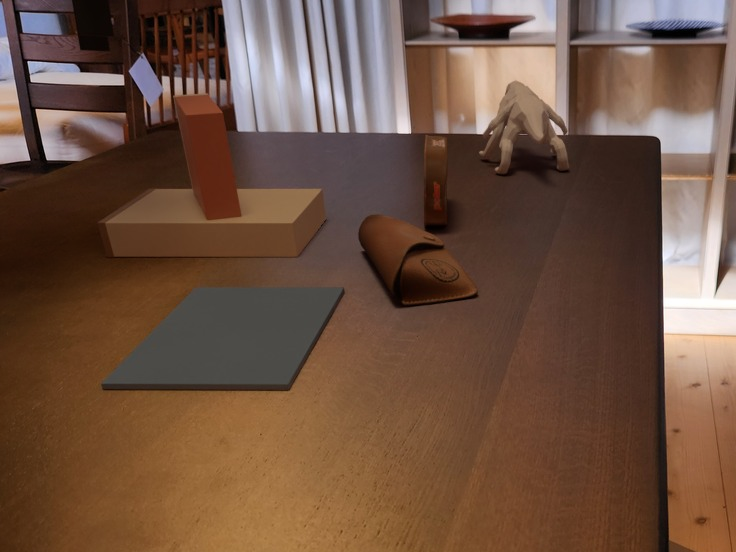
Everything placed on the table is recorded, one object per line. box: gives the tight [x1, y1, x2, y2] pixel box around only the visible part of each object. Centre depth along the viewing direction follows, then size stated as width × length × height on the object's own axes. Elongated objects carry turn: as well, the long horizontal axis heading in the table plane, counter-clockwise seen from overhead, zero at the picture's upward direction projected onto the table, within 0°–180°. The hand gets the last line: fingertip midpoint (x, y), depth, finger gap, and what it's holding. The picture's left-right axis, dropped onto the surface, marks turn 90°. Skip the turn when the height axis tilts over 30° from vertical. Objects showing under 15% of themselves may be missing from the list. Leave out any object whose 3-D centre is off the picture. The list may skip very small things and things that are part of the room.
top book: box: [172, 92, 242, 220], centre depth 93 cm, size 4×12×10 cm, turn 23°
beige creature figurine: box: [478, 79, 570, 175], centre depth 121 cm, size 12×25×10 cm, turn 11°
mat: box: [100, 286, 345, 391], centre depth 74 cm, size 14×21×1 cm, turn 178°
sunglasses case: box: [357, 214, 479, 306], centre depth 86 cm, size 18×7×7 cm
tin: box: [423, 134, 449, 227], centre depth 101 cm, size 15×3×8 cm, turn 4°
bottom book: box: [97, 187, 327, 258], centre depth 97 cm, size 20×14×4 cm
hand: (96, 44), depth 82 cm, fingers open, 13 cm apart
